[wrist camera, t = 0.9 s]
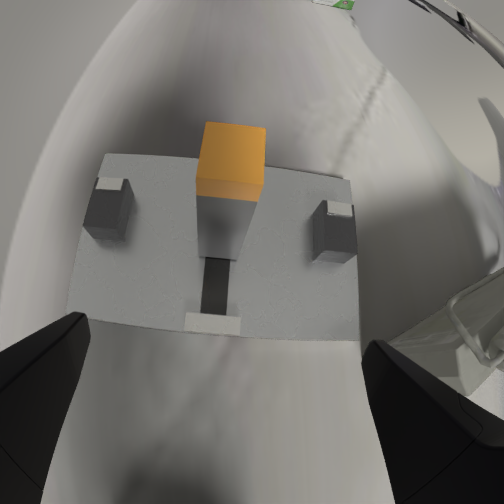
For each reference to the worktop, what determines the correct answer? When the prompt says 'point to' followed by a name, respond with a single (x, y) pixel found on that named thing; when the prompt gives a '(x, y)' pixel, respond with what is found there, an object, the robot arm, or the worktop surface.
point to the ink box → (337, 3)
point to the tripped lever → (228, 186)
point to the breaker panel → (217, 269)
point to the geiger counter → (461, 336)
